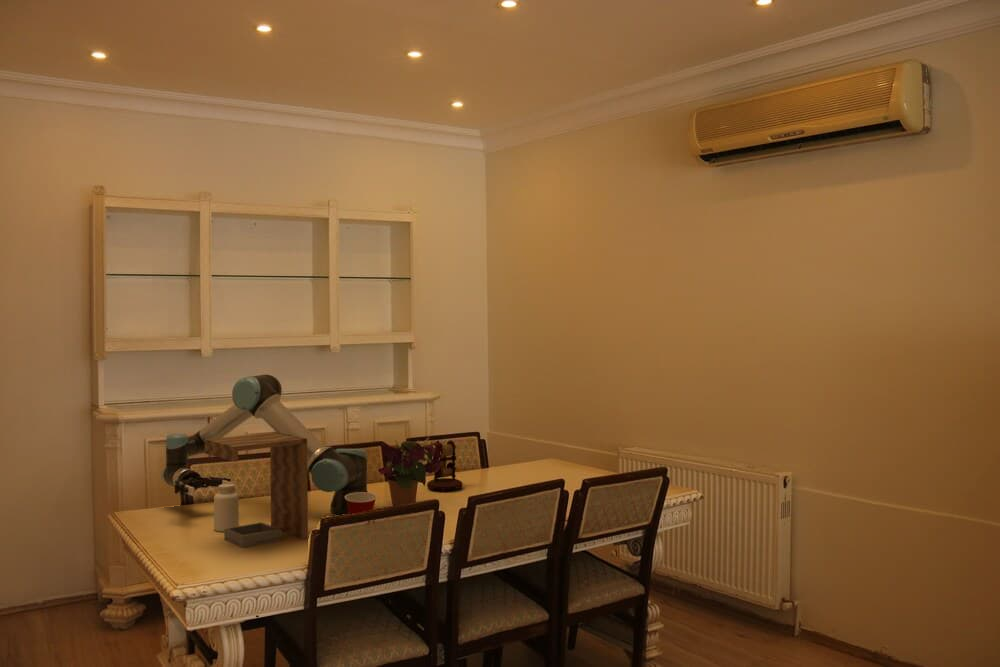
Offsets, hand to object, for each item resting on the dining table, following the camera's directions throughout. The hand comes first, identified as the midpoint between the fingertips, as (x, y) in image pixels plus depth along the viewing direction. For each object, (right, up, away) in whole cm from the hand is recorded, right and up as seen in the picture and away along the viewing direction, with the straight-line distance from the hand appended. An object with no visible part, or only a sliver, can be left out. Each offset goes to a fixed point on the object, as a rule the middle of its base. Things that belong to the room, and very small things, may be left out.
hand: (212, 489), depth 296 cm
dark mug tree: (+77, -11, +59) cm, 97 cm away
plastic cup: (+53, -12, -10) cm, 55 cm away
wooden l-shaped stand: (+21, -12, -20) cm, 31 cm away
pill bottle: (+7, -12, -7) cm, 16 cm away
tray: (+20, -13, -21) cm, 31 cm away
